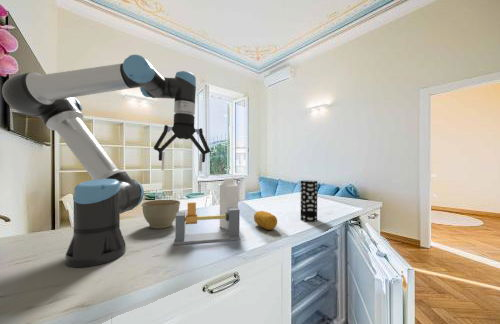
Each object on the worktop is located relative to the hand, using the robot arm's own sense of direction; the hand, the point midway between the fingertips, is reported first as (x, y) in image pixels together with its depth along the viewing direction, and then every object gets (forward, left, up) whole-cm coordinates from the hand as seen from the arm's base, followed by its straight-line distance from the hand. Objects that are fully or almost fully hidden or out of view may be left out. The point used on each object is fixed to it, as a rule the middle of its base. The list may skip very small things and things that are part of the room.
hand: (182, 170), depth 80 cm
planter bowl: (-10, +20, -27) cm, 35 cm away
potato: (+36, +7, -27) cm, 45 cm away
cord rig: (+10, -1, -26) cm, 28 cm away
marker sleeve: (+4, -1, -20) cm, 20 cm away
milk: (+20, +12, -26) cm, 35 cm away
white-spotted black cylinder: (+62, +15, -26) cm, 69 cm away
